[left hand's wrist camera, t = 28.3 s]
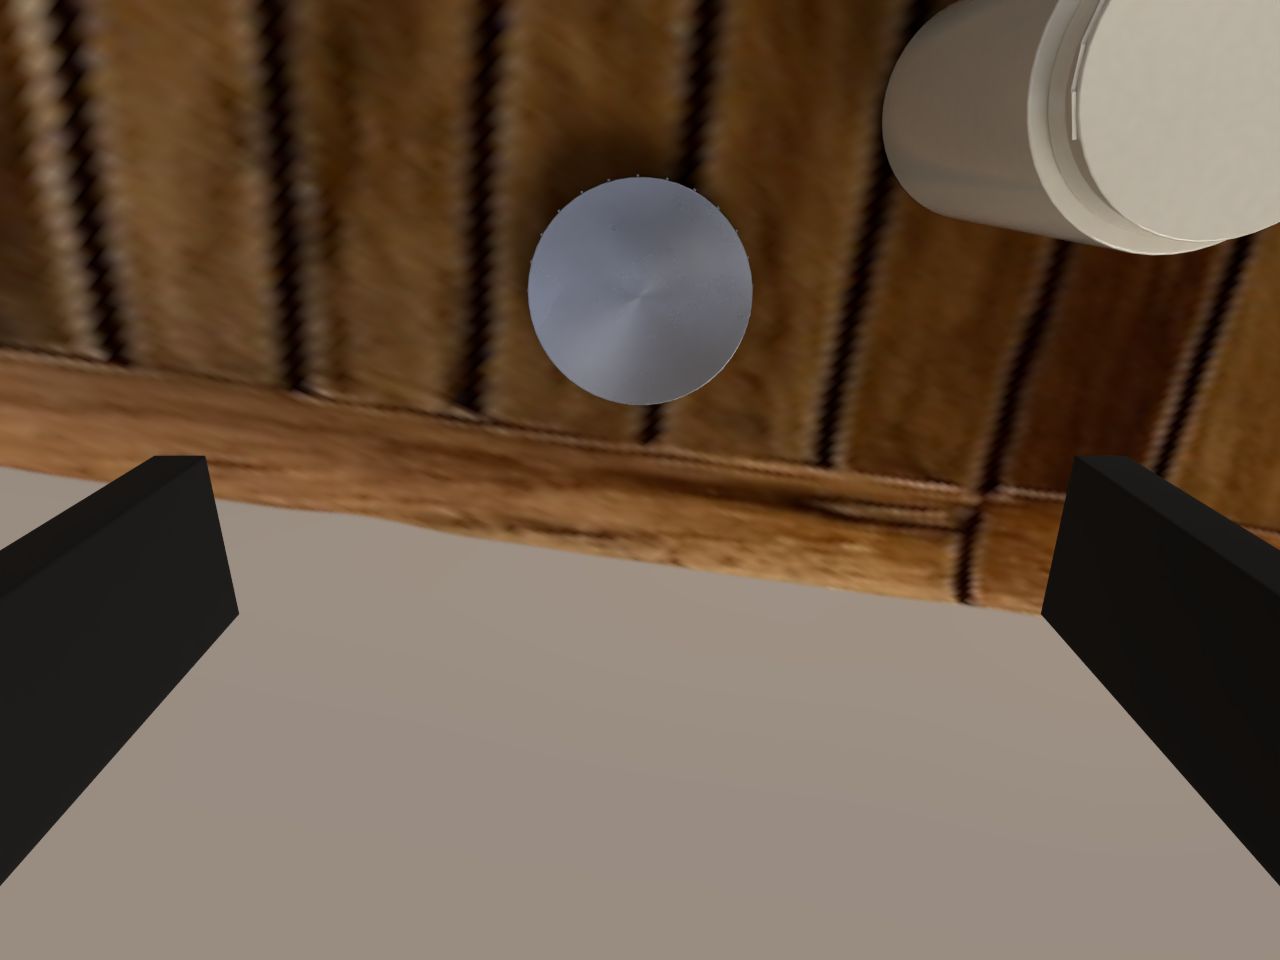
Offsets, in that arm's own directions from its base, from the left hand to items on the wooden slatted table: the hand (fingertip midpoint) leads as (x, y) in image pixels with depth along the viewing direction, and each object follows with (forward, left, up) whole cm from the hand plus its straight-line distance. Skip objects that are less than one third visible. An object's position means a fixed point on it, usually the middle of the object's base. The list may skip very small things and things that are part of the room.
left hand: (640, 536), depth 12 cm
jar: (-8, +14, -26) cm, 31 cm away
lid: (0, 0, -25) cm, 25 cm away
